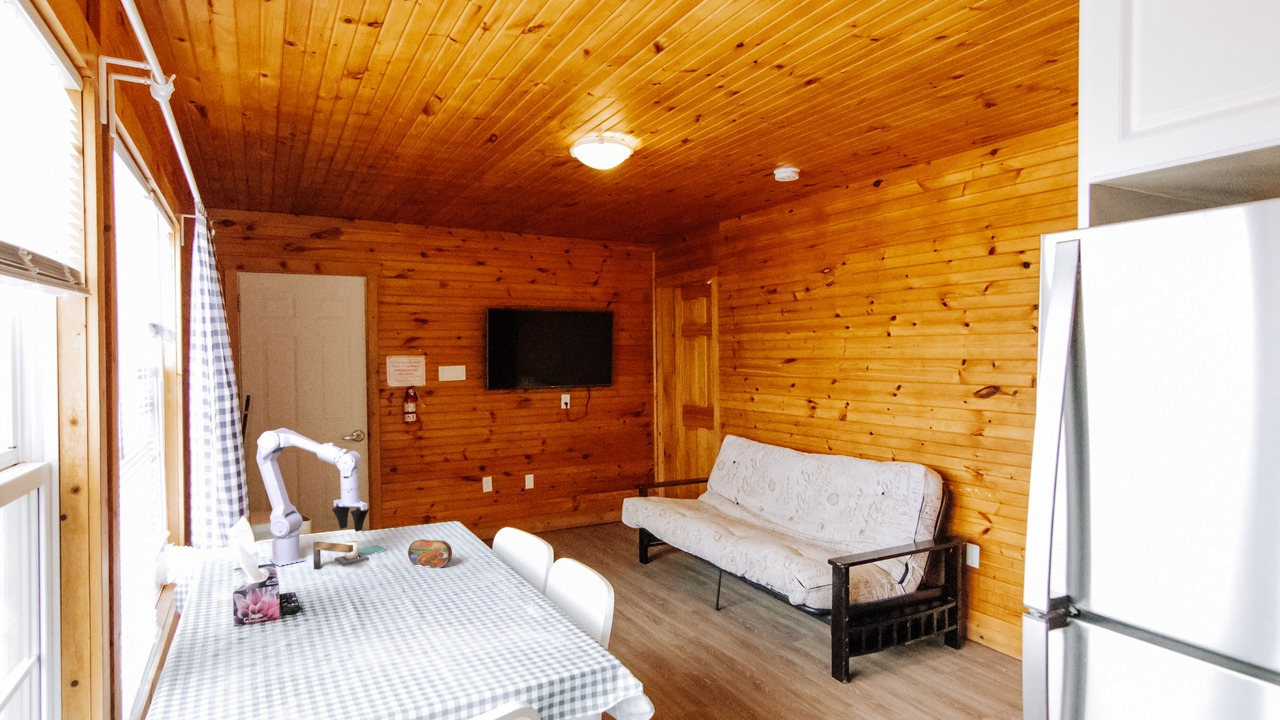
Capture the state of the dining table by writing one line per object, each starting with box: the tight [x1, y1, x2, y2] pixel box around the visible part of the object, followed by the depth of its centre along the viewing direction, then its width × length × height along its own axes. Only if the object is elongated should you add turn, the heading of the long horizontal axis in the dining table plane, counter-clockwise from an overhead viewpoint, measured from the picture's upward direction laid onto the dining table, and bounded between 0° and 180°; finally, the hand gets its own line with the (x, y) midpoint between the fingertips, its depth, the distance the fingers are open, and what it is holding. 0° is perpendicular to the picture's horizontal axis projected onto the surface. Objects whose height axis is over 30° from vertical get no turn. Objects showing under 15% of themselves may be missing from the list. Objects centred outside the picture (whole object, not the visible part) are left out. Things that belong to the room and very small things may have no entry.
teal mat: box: [358, 544, 388, 556], centre depth 235 cm, size 8×8×1 cm
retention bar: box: [312, 541, 353, 570], centre depth 215 cm, size 14×2×8 cm, turn 72°
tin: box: [407, 539, 453, 569], centre depth 218 cm, size 15×3×8 cm, turn 73°
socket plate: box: [334, 552, 370, 567], centre depth 225 cm, size 8×8×1 cm
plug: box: [344, 540, 359, 561], centre depth 225 cm, size 4×4×6 cm
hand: (351, 529), depth 225 cm, fingers open, 7 cm apart
